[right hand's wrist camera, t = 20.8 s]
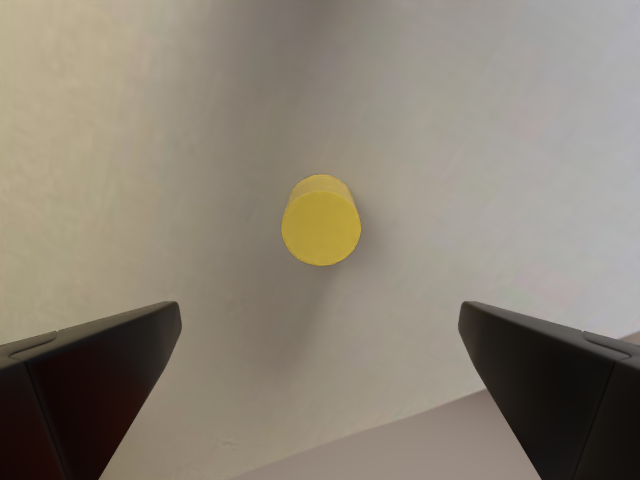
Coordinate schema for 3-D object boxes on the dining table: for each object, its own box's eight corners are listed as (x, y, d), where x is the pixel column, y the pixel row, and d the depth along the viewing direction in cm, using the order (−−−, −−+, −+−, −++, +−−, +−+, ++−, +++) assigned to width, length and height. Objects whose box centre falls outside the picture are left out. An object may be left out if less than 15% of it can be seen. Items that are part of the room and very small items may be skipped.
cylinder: (365, 218, 23) (374, 243, 19) (308, 248, 24) (306, 278, 20) (334, 161, 22) (337, 175, 18) (275, 195, 23) (265, 215, 19)
